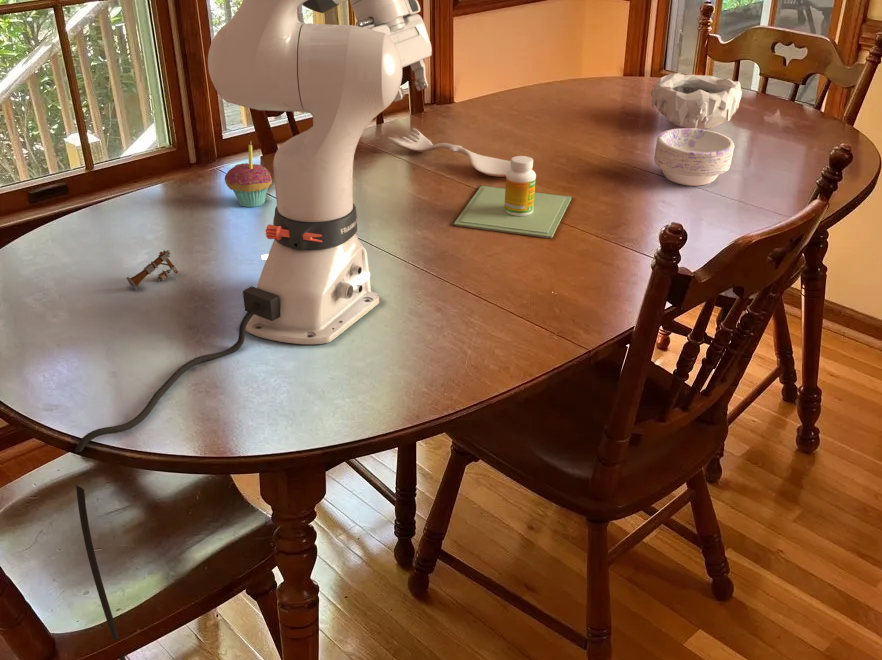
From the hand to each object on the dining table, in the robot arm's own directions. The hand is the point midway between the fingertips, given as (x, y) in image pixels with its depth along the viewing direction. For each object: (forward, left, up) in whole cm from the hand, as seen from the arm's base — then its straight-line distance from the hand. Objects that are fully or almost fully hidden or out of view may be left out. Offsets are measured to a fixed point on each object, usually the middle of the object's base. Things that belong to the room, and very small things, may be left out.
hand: (411, 94), depth 163 cm
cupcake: (-11, +28, -20) cm, 36 cm away
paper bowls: (+30, -50, -20) cm, 61 cm away
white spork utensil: (+23, -3, -20) cm, 31 cm away
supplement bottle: (0, -21, -19) cm, 28 cm away
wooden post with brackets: (-46, +28, -20) cm, 57 cm away
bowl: (+66, -48, -20) cm, 84 cm away
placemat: (+1, -20, -20) cm, 28 cm away
